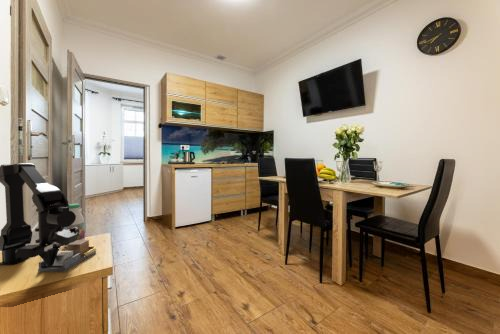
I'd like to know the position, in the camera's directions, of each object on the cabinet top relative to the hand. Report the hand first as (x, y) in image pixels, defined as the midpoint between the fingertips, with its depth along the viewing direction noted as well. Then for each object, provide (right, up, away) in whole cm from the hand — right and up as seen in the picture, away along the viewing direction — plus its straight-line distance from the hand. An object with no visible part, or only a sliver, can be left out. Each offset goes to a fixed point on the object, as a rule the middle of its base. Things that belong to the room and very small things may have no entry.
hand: (50, 265), depth 78 cm
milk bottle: (-13, -2, +26) cm, 29 cm away
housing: (0, -1, +13) cm, 13 cm away
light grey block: (0, -1, +5) cm, 5 cm away
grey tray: (0, -2, +8) cm, 9 cm away
